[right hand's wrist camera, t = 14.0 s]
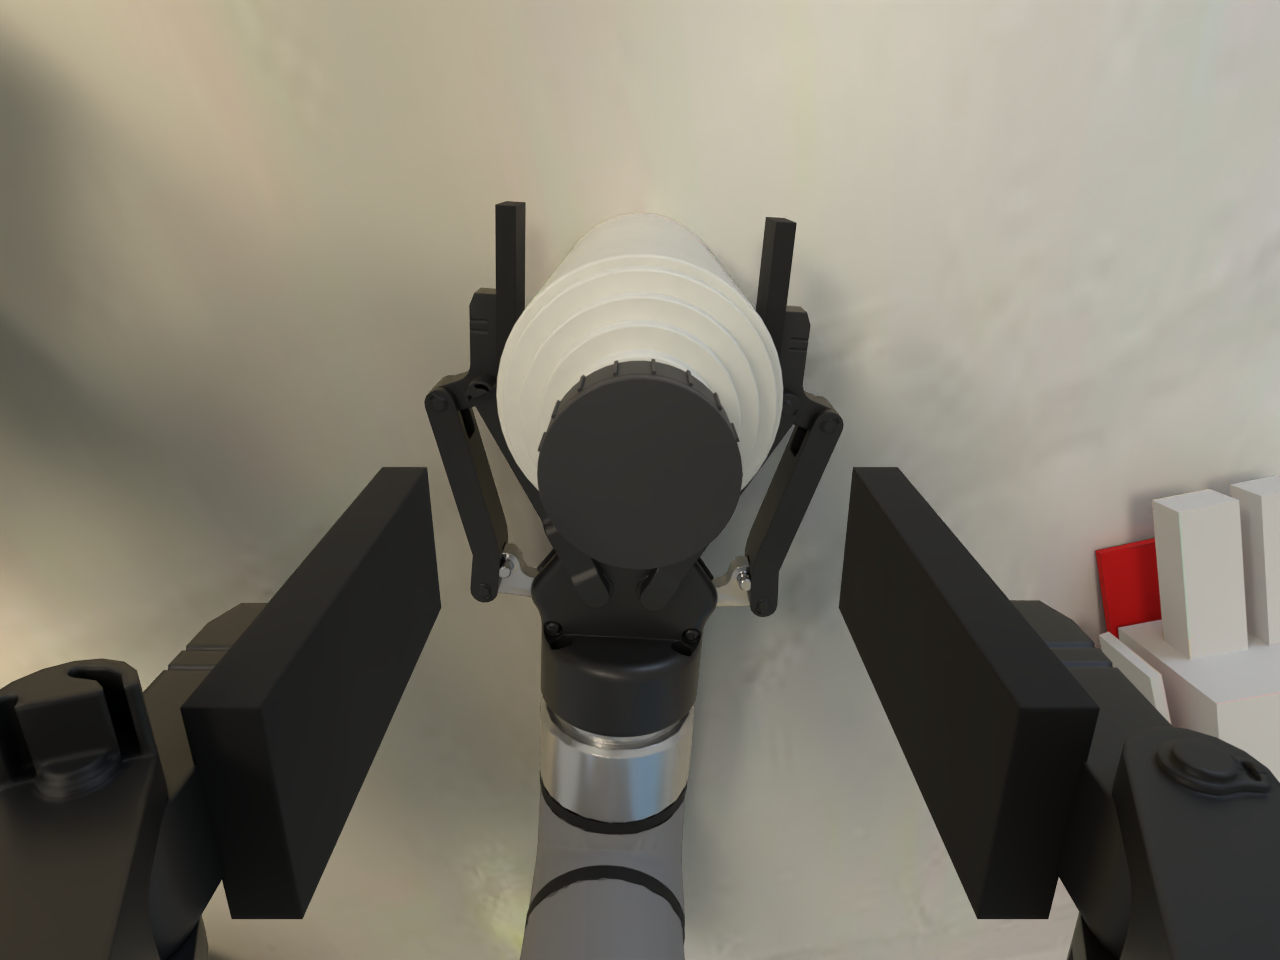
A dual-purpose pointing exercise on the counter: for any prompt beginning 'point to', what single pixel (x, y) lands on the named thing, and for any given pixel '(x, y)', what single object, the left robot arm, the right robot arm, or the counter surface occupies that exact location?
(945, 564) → the right robot arm
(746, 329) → the bottle
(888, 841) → the counter surface
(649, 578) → the left robot arm
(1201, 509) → the toy
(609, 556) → the cap
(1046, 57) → the counter surface
